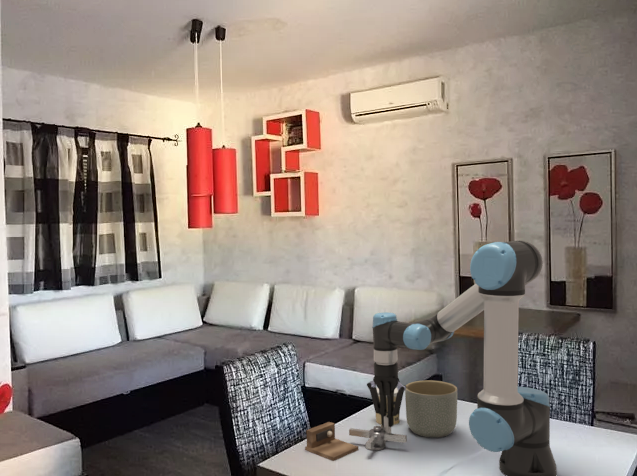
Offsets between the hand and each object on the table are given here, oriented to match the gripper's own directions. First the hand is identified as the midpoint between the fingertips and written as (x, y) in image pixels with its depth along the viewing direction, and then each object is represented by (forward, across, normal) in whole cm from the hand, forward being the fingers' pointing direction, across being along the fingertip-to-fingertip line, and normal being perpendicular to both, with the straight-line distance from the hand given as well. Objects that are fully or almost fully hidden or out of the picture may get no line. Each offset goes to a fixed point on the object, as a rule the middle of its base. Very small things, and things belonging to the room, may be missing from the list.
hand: (387, 436), depth 186 cm
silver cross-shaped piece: (+1, +1, +6) cm, 7 cm away
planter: (+3, -9, -15) cm, 18 cm away
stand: (+2, +7, +11) cm, 13 cm away
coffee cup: (+3, +7, -16) cm, 18 cm away
